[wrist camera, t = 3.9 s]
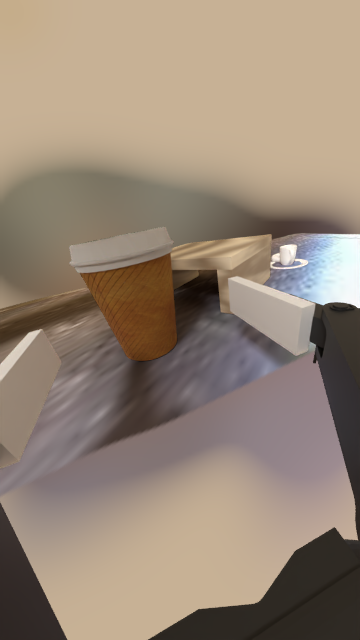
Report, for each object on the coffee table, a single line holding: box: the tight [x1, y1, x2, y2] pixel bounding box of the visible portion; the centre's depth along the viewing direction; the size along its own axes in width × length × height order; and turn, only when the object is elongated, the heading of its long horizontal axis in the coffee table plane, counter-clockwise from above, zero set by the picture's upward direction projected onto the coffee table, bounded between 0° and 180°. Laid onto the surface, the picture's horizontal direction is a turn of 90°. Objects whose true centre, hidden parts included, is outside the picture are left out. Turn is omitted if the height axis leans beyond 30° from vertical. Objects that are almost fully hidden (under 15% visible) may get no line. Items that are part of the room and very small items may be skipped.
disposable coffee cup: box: [69, 227, 177, 361], centre depth 20 cm, size 10×10×12 cm
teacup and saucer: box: [270, 245, 308, 269], centre depth 41 cm, size 9×8×4 cm
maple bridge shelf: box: [170, 235, 271, 314], centre depth 35 cm, size 18×16×8 cm
